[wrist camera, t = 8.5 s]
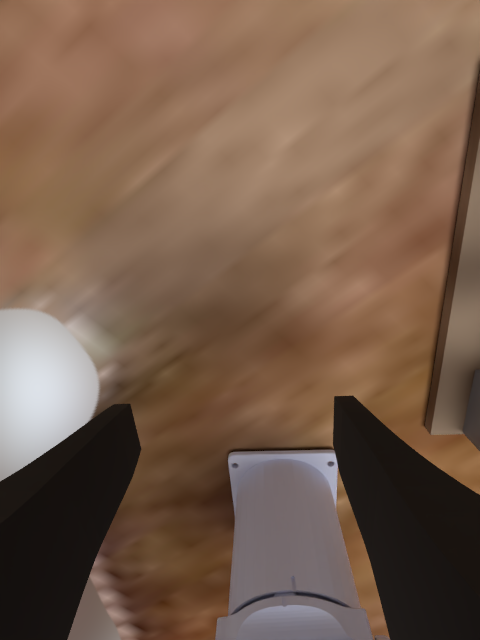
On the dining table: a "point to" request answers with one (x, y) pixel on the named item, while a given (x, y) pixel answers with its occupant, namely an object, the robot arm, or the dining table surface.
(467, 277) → the base board
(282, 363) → the dining table surface
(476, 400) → the end caps
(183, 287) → the dining table surface
